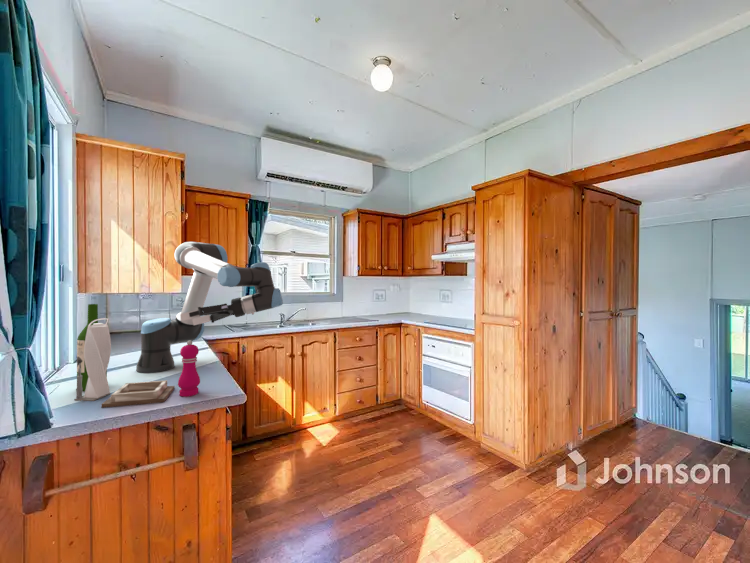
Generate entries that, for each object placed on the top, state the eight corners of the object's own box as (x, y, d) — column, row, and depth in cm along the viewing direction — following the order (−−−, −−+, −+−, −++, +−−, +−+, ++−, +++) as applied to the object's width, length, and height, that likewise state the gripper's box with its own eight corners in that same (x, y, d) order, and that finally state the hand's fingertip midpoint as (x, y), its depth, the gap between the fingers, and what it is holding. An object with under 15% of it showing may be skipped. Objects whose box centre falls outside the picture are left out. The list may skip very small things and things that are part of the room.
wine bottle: (71, 389, 128) (72, 304, 128) (97, 383, 136) (98, 303, 136) (86, 392, 125) (87, 305, 125) (112, 385, 133) (113, 304, 133)
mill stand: (119, 393, 125) (119, 383, 125) (174, 388, 131) (174, 379, 131) (101, 407, 111) (101, 396, 111) (163, 402, 117) (163, 391, 117)
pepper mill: (190, 398, 121) (190, 342, 121) (173, 396, 123) (173, 341, 123) (204, 391, 128) (204, 339, 128) (187, 390, 130) (188, 338, 130)
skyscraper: (95, 392, 126) (96, 317, 125) (116, 392, 125) (117, 318, 125) (74, 400, 117) (75, 320, 117) (97, 401, 117) (97, 320, 117)
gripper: (239, 310, 123) (176, 325, 118) (250, 318, 147) (199, 332, 142) (234, 290, 125) (172, 305, 120) (247, 302, 149) (195, 315, 144)
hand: (187, 320), depth 131 cm, fingers open, 13 cm apart
